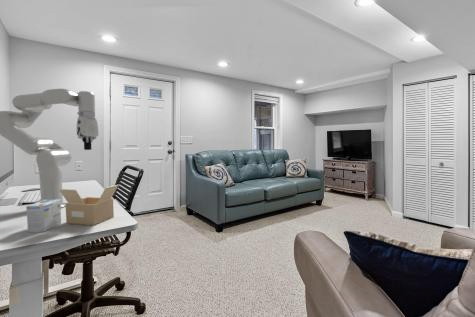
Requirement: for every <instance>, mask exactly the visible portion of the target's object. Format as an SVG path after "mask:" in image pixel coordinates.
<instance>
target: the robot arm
mask: <svg viewBox="0 0 475 317" xmlns="http://www.w3.org/2000/svg"><path fill="white" fill-rule="evenodd" d="M11 102H12V105H13V106H14V108H15V109H17V110H19V111H21V112H17V111H10V110H0V136H1V137H2V138H4V139H6V140H7V141H9V142H11V143H12V144H13V145H15V146H16V147H17V148H19V149H20V150H22V151H24V153H26V154H28V155H30V156H35V159H36V160H35V161H36V162H35V163H36V166H37V168H38V174H39V188H40V189H39V190H40V198H39V200H37V201H36V203H37V202H40V201H43V200H56V199H60V207H61V209H62V208H66V203H67V202H64V196H63V195H62V194H61V192H60V191H59V189H63V179H62V178H63V176H62V171H61V169H60V167H62V166H63V167H64V166H66V165H68V164H70V163H71V160H72V155H71V153H70V151H68V149H66V148H65V147H63V146H61V145H60V144H59V143H57V142H56V141H54V140H53V139H50V138H46V137H35V136H33V135H32V134H30V133H29V132H28V131H26V130H24V129H26V128H29V127H31V126H32V125H33V124H34V123H35V122H36V120H37V119H38V118H39V117H40V116H41V114H42V113H43V112H44V111H45V110H49V109H52V106H53V105H59V104H60V105H68V106H70V107H71V106H73V107H78V108H77V109H78V111H77V115H78V117H77V120H76V136H77V138H78V139H80V140H82V143H83V150H85V151H89V150H90V151H91V150H92V143H93V141H94V140H96V139H97V137H98V136H99V126H98V125H99V124H98V120H97V118H96V104H95V103H96V97H95V94H94V93H93V92H92V91H86V90H85V91H84V90H83V91H82V90H80V91H78V92H76V91H73V90H70V89H67V88H53V89H52V88H51V89H50V88H49V89H46V90H44V91H42V92H37V93H26V94H20V95H19V94H18V95H16V96H14V97H13V99H12V101H11Z"/></svg>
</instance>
